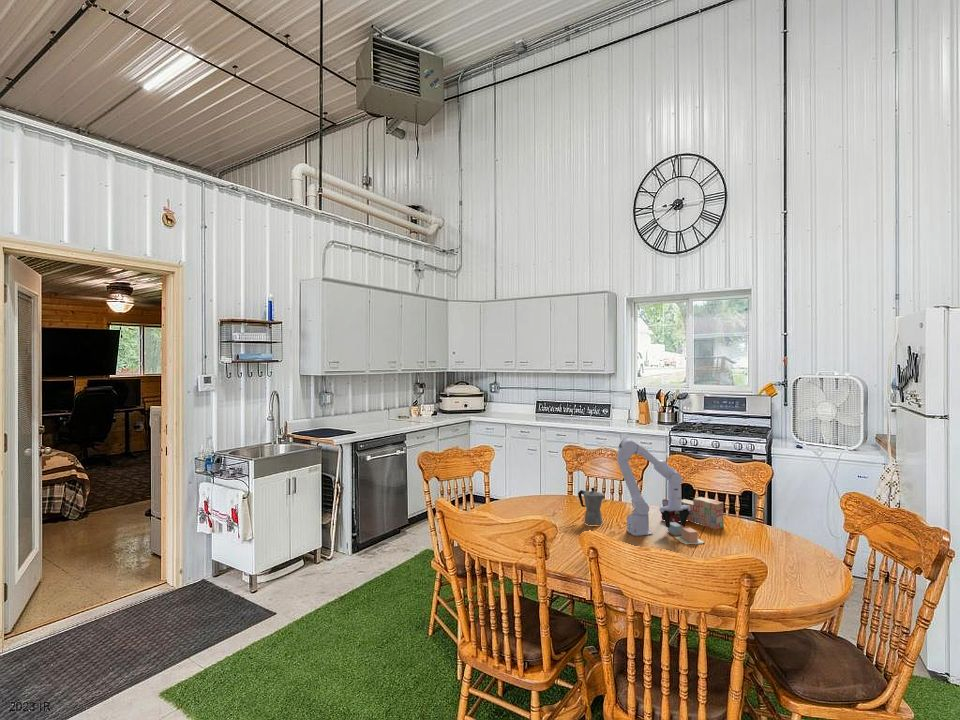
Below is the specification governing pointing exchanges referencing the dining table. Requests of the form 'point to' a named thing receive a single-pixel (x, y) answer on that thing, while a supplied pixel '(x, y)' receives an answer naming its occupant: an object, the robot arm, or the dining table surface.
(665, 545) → the dining table surface
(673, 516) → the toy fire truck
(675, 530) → the slate brick
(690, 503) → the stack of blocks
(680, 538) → the baseplate
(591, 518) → the coffeepot
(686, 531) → the terracotta brick
